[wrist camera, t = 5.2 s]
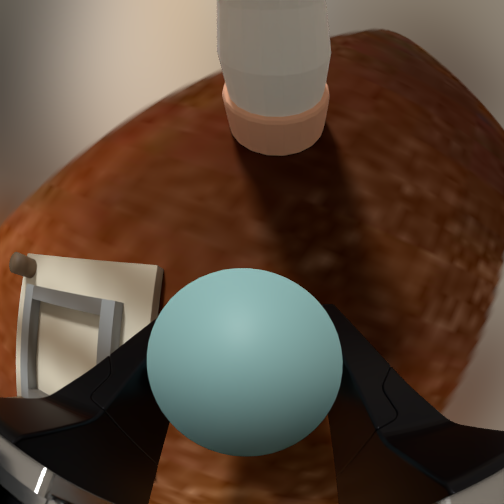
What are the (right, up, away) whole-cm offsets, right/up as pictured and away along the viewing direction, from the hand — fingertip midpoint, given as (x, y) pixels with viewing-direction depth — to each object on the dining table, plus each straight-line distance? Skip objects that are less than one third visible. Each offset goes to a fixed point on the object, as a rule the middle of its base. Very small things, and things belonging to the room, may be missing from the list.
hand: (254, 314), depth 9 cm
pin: (+1, -3, +6) cm, 7 cm away
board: (-13, -5, +6) cm, 15 cm away
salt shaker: (+2, +12, +10) cm, 16 cm away
